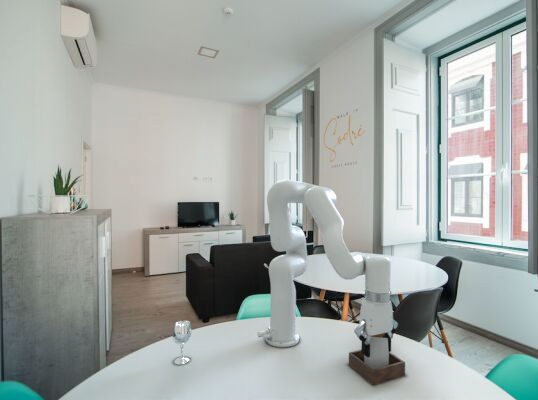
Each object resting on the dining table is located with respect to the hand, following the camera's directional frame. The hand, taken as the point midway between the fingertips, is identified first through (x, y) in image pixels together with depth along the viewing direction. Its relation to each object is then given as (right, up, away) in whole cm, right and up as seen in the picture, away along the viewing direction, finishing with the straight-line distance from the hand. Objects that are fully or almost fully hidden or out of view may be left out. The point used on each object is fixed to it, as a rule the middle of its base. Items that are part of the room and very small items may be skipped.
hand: (376, 352), depth 92 cm
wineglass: (-62, -5, +3) cm, 62 cm away
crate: (0, -6, 0) cm, 6 cm away
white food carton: (0, -6, 0) cm, 6 cm away
